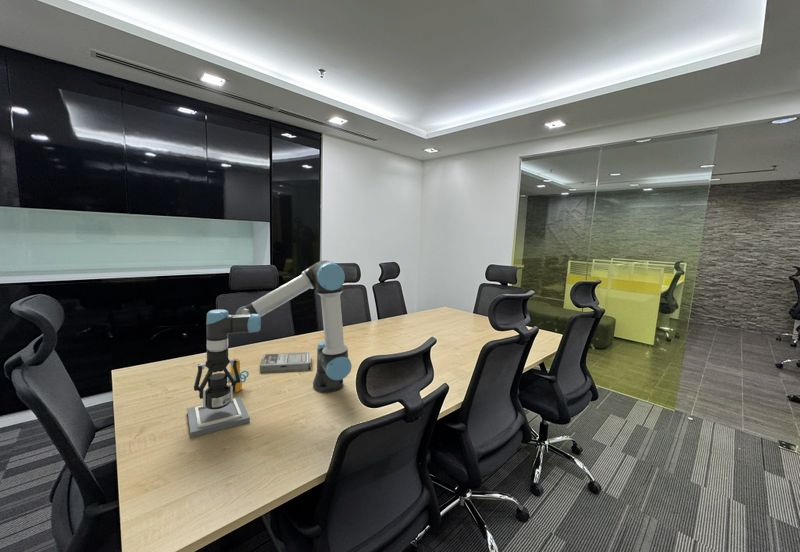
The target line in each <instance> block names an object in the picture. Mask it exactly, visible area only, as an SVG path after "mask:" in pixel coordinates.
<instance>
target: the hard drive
mask: <svg viewBox="0 0 800 552" xmlns="http://www.w3.org/2000/svg"><path fill="white" fill-rule="evenodd" d="M311 358H312V357H311V352H310V351H307V352H286V353H285V352H283V353H265V354H263V356H262V359H261V361H260V364H259V373H260V374H261V373H263V374H265V373H281V372H282V373H283V372H294V371H296V372H298V371H311V369H312V368H311V367H312V365H311V363H312V362H311Z"/></svg>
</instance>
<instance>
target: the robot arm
mask: <svg viewBox="0 0 800 552" xmlns="http://www.w3.org/2000/svg"><path fill="white" fill-rule="evenodd" d="M345 277H346V276H345V272H344V269H343V268H342V267H341V266H340V265H339V264H337V263H336V262H333V261H329V260H320V261H318V262H316V263H314V264H312V265H310V266H309V267H308V268H306V269H305V270H303V271H302V272H301V274H300V275H299V276H297V277H295V278H293V279H291V280H290V281H288V282H286V283H284V284H282V285H280V286H278V288H275V289H274V290H271V291H270V292H268V293H266V294H265V295H263V296H261V297H259V298H258V299H256V300H255V301H253V302H251V303H249V304H247V305H245V306H244V305H243V306H241V307H239V308H238V309H237V311H235V314H229V310H226V309H211V310H209V311H208V312H207V313H206V323H205V325H206V329H205V330H206V362H205V363H198V364H197V373H196V376H195V377H196V378H195V380H194V385H193V390H194V392H196V391H198V393H199V394H198V397H199V399H200V400H202V405H203V407H205V390H206V388H205V387H206V386H207V385H208V380H209V378H210V376H211V375H212V374H216V373H222V372H224V373H225V374H226V375H227V377H228V378H229V380H230V381H231V383H230V384H229V387H230V401H233V398H234V397H233V396H234V395H233V393H236V392H235V385H236V383H239V382H240V378H239V374H238V370H237V366H236V365H237V361H236V359H234V358H232V359H233V360H231V359H229V348H228V347H229V334H230V335H231V334H247V333H250V334H251V333H258V332H260V331H261V327H262V326H261V325H262V321H261V319H262V318H261V317H264V316H265V315H266V314H269V313H270V312H272V311H273V310H275V309H277V308H278V307H280V306H282V305H284V304H286V303H287V302H288V301H290V300H292V299H294V298H295V297H297V296H299V295H300V294H302V293H304V292H306V291H308V290H309V289H311V290H313V289H315V288H316V294H317V295H319V296H320V301H321V302H320V303H321V313H322V324H323V325H322V326H323V333H324V334H323V336H324V341H321V342H319V343H318V344H317V347H316V350H317V351H316V354H317V355H316V373H315V375H314V379H313V382H312V388H313V390H315V391H316V392H319V393H333V392H337V391H340V390H341V389H342V388H343V387H344V379H345V378H347V377H348V375H350V373H351V371H352V369H353V368H352V367H353V364H352V362H351V360H350V358H349V348H348V346H347V345H345V342H344V341H345V339H344V327H343V315H342V305H341V304H342V303H341V294H342V293H343V292H344V282H345V280H346V279H345ZM229 364H230V366H231V365H232V366H233V370H234V373H235V377H236V379H235V380H234V379H233V378H232V376H231V375H230V373H229V370H228V368H227V367H228V365H229ZM205 367H206V368H207V373H206V374H205V376H204V377H203V380H201V378H202V374H203V371H204V369H205ZM201 381H202V382H201Z"/></svg>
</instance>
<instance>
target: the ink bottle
mask: <svg viewBox="0 0 800 552" xmlns="http://www.w3.org/2000/svg"><path fill="white" fill-rule="evenodd" d="M227 381H228V380H227V375H226V374H225V372H224V373H223V372H215V373H212V375H211V376H210V378H209V380H208V382H207V388H205V407H206V408H207V409H213V410H214V409H220V408H223V407H225V406H227V405H228V404H229V403H230V387H229V386H228V383H227Z"/></svg>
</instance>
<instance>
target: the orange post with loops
mask: <svg viewBox="0 0 800 552" xmlns="http://www.w3.org/2000/svg"><path fill="white" fill-rule="evenodd" d="M233 359H236V361H237V365H236V366H237V370H238V374H239V378H240V382H239V383H236V385H235V392H234V393H237V392H240V391H242V390H243V383H245V382H246V381H247V378H248V377H249V371H248V370H242V371H241V359H240V358H238V357H236V358H232V359H230V360H233ZM228 371H229V370H228ZM229 373H230V375H231V376H232V378H233V379H234V380H235V379H236V377H235V373H234V370H233V366H232V365H231V364H230V371H229ZM244 373H246V375H245V374H244ZM230 383H231V381H230V380H229V378H228V377H227V385H228V386H229V384H230Z"/></svg>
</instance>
